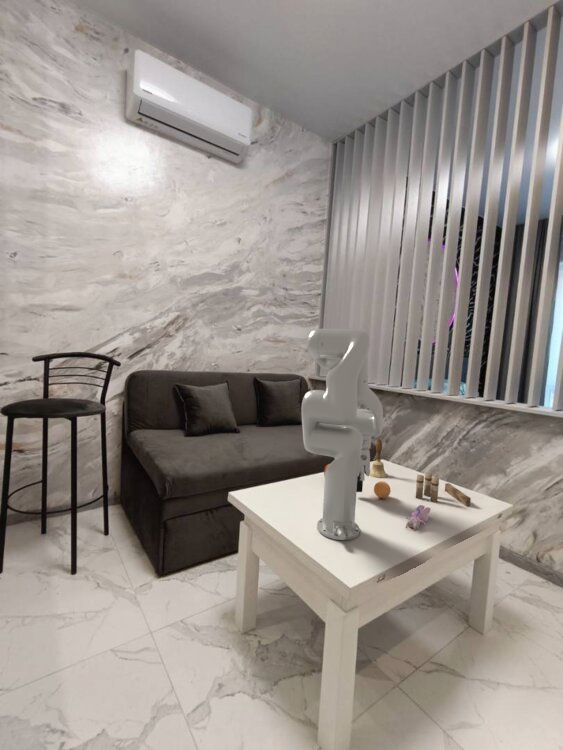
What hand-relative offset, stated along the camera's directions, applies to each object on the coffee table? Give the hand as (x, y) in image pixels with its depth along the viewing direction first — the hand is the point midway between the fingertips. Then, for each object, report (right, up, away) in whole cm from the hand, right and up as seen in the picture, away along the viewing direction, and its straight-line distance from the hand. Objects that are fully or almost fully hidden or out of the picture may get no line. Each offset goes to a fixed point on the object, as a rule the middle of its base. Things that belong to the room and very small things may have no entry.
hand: (357, 491), depth 131 cm
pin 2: (+28, -4, 0) cm, 28 cm away
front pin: (+24, -3, +2) cm, 24 cm away
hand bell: (+15, -1, +26) cm, 29 cm away
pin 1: (+28, -3, +5) cm, 28 cm away
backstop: (+39, -4, +3) cm, 39 cm away
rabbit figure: (+16, -5, -18) cm, 24 cm away
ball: (+9, 0, 0) cm, 9 cm away
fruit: (-7, -1, +16) cm, 17 cm away
